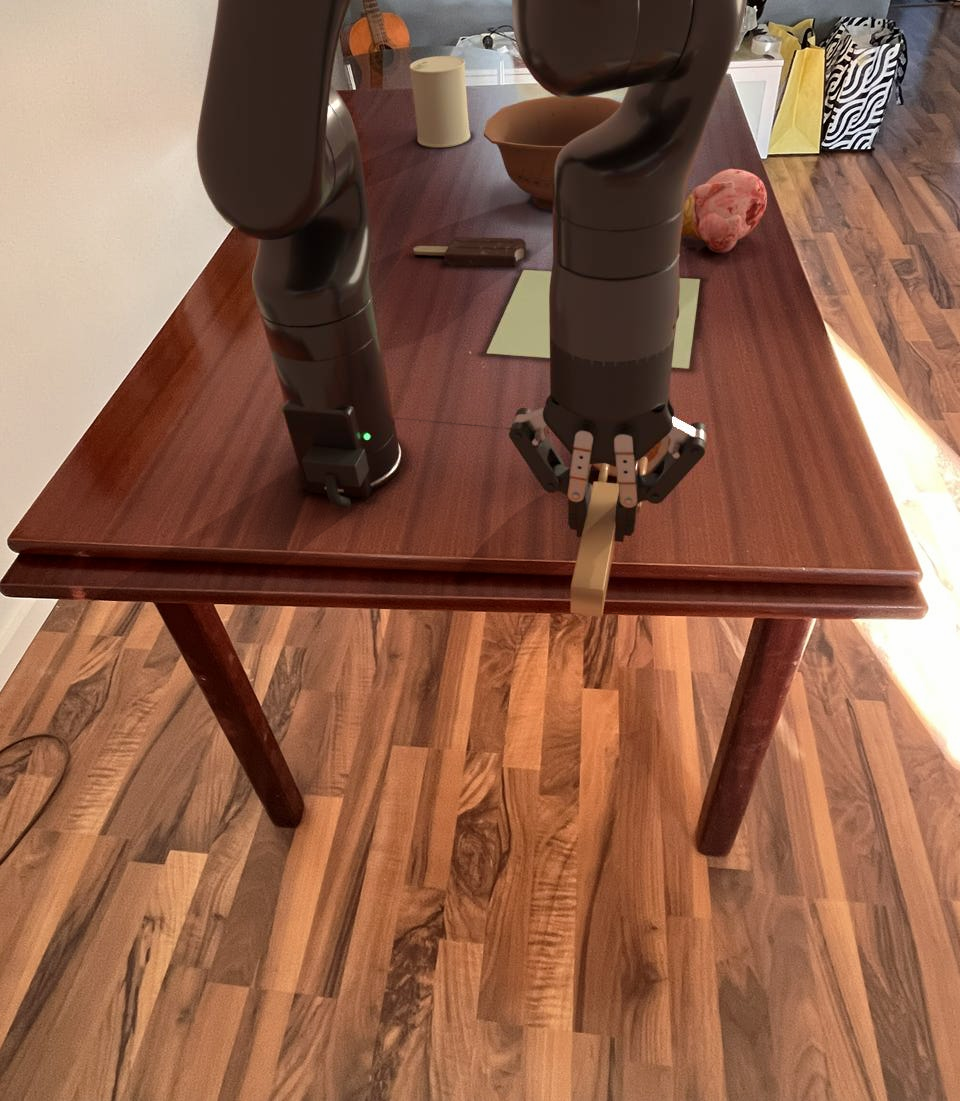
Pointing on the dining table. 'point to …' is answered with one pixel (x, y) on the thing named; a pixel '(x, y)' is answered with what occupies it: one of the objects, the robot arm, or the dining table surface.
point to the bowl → (543, 137)
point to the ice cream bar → (478, 251)
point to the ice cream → (724, 209)
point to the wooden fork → (597, 546)
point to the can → (440, 101)
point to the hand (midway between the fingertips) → (602, 531)
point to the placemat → (530, 328)
